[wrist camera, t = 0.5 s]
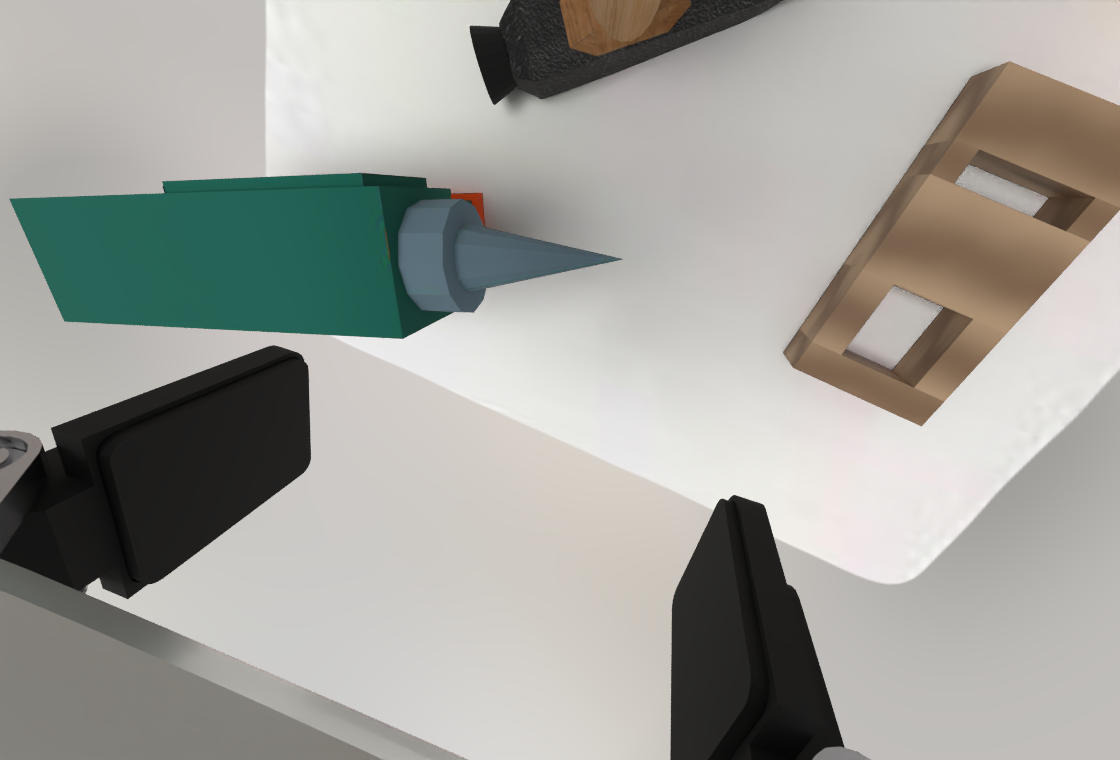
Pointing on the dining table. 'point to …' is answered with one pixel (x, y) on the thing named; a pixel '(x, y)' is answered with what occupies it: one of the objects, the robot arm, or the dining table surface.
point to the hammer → (592, 38)
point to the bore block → (970, 237)
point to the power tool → (281, 254)
